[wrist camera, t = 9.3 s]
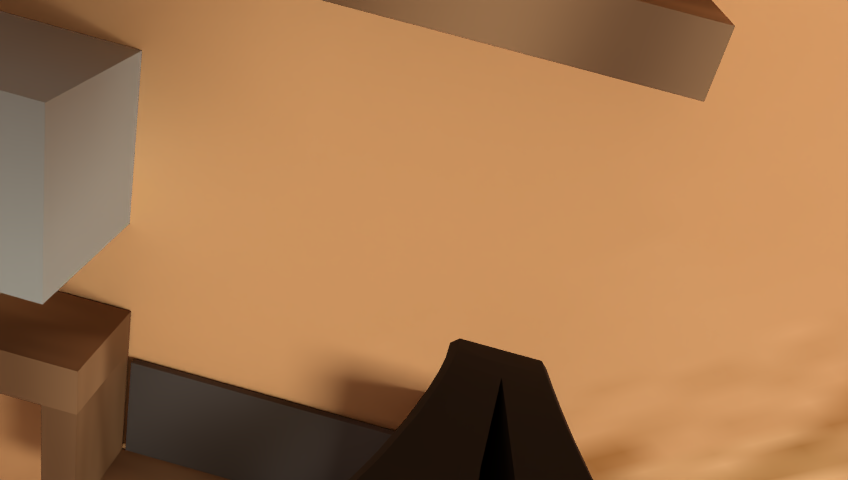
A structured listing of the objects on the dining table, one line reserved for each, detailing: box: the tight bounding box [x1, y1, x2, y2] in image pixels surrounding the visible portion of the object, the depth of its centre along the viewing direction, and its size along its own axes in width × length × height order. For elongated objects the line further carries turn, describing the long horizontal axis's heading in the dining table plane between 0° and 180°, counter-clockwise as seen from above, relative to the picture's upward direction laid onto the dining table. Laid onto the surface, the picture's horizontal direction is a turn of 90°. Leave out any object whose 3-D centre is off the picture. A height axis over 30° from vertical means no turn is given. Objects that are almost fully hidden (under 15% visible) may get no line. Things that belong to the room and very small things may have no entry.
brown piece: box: [0, 0, 735, 480], centre depth 21 cm, size 17×19×4 cm
